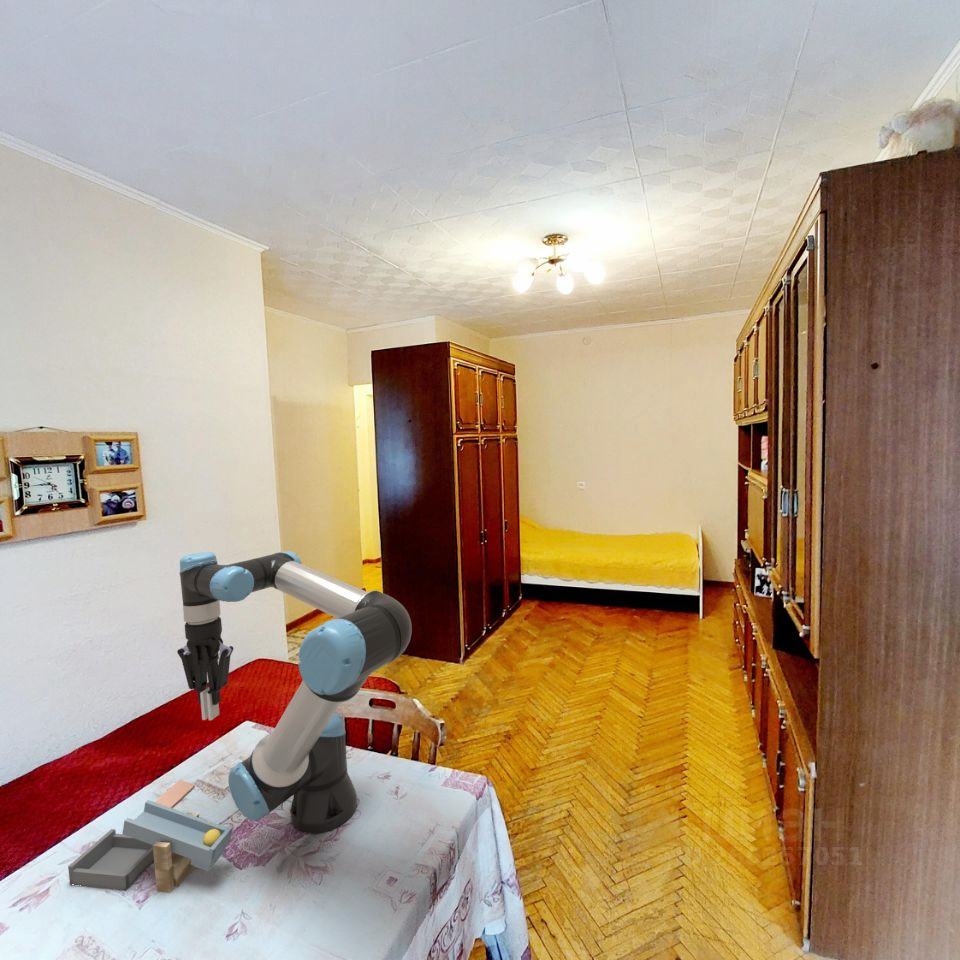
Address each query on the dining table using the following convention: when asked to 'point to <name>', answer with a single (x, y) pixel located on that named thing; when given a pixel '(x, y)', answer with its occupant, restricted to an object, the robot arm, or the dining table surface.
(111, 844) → the tray
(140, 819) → the lever
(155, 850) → the fulcrum
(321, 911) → the dining table surface
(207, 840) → the ball
